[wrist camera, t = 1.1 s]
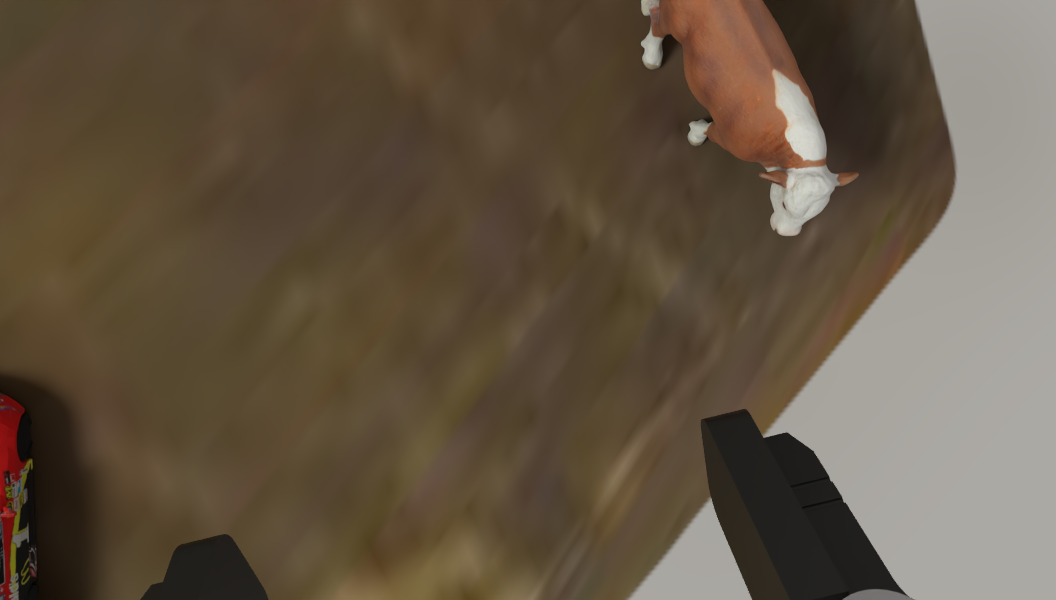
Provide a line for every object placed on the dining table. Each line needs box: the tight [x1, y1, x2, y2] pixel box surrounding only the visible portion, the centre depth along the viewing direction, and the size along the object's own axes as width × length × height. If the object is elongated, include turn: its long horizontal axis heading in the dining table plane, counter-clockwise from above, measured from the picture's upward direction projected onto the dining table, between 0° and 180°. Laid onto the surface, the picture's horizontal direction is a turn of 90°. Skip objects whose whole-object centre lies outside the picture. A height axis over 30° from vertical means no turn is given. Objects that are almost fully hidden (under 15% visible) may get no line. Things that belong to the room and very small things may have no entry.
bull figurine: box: [641, 0, 859, 236], centre depth 34 cm, size 4×13×8 cm, turn 26°
